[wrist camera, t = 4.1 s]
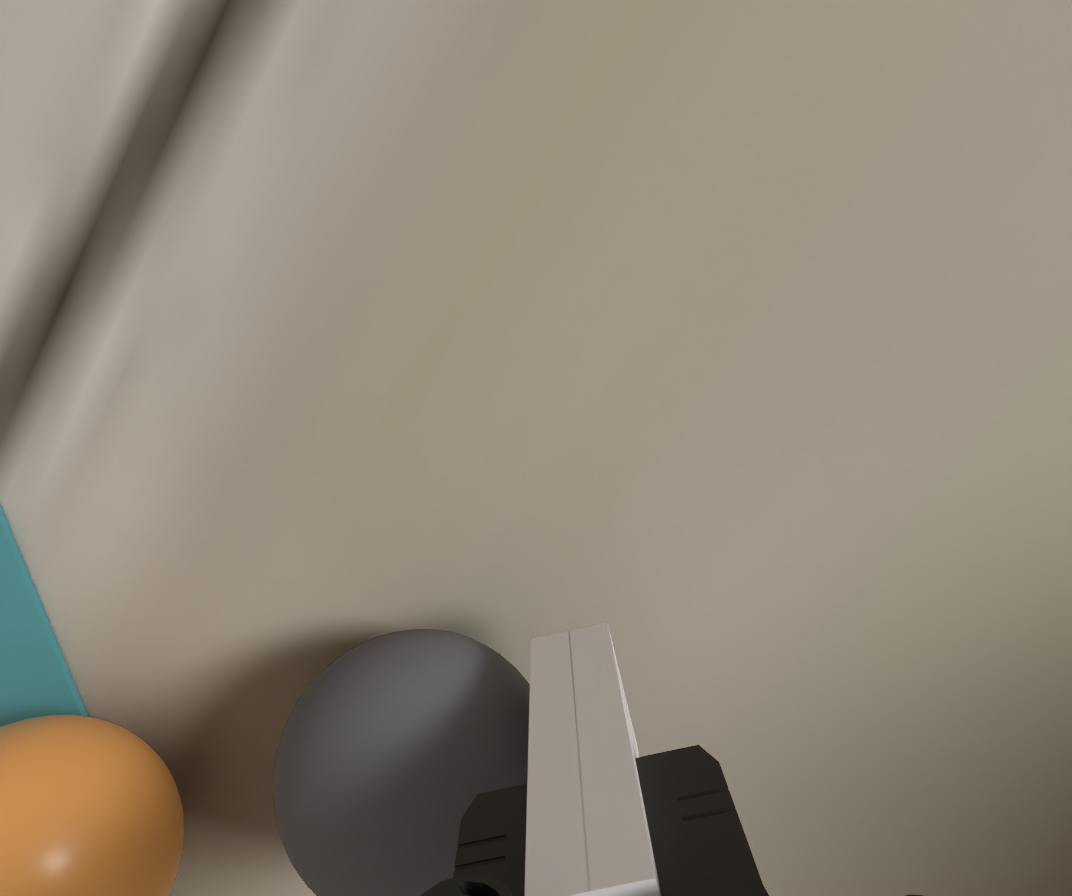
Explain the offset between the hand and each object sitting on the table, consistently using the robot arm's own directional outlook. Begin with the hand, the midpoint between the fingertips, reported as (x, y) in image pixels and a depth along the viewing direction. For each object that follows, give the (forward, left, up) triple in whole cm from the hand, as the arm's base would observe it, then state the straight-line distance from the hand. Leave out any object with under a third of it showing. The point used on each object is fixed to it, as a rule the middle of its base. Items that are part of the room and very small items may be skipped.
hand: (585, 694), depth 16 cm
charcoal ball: (+4, +1, 0) cm, 4 cm away
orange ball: (+12, +1, 0) cm, 12 cm away
